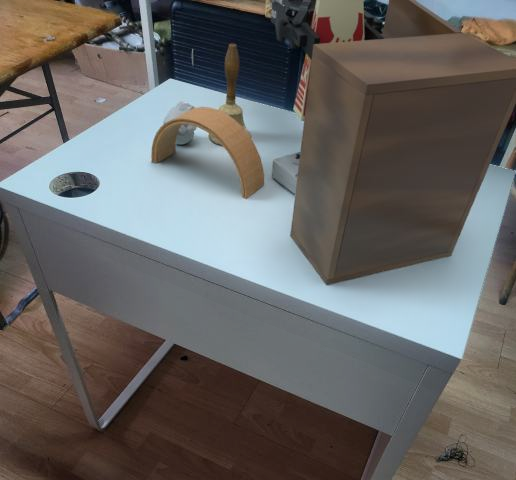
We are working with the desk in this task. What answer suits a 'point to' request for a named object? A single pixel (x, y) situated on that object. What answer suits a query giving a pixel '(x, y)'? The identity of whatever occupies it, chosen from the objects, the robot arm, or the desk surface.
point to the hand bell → (231, 89)
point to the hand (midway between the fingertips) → (347, 49)
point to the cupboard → (396, 149)
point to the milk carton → (331, 36)
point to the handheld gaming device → (286, 170)
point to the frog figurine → (185, 130)
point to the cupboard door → (413, 21)
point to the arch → (223, 132)
